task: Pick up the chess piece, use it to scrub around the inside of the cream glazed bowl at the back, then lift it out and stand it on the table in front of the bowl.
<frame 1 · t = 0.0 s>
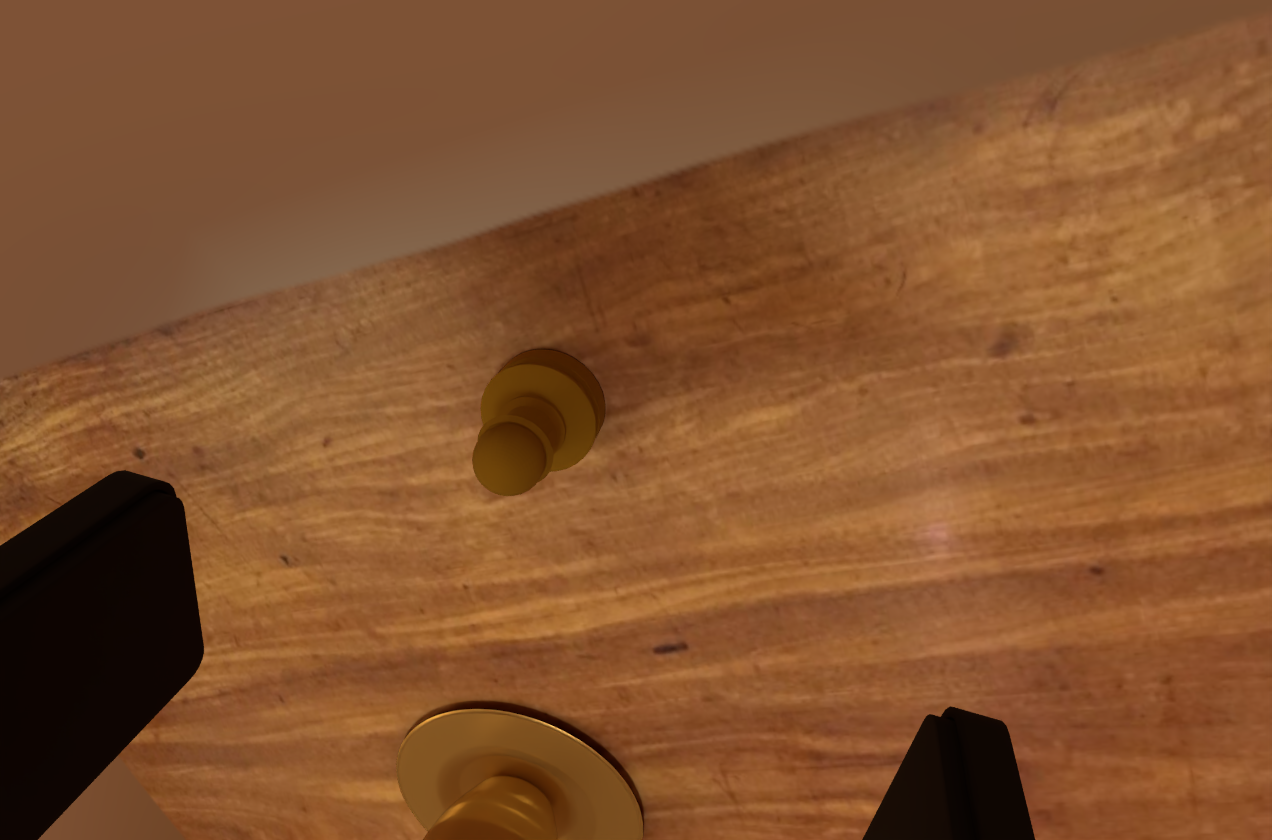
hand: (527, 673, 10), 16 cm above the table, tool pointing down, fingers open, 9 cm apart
cup: (521, 792, 37), on the table
chess piece: (551, 399, 27), on the table
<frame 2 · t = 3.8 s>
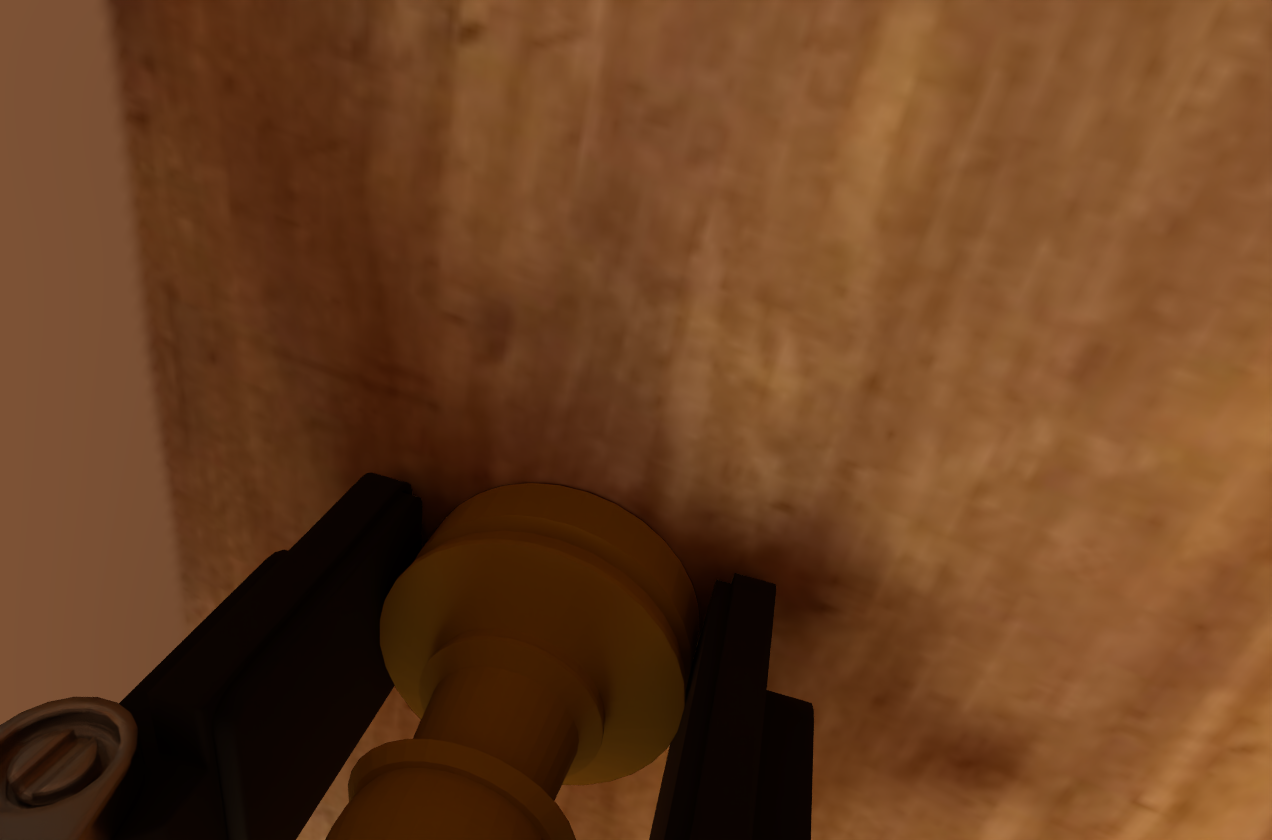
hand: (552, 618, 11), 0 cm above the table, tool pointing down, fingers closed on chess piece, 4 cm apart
chess piece: (563, 594, 11), on the table, touching gripper
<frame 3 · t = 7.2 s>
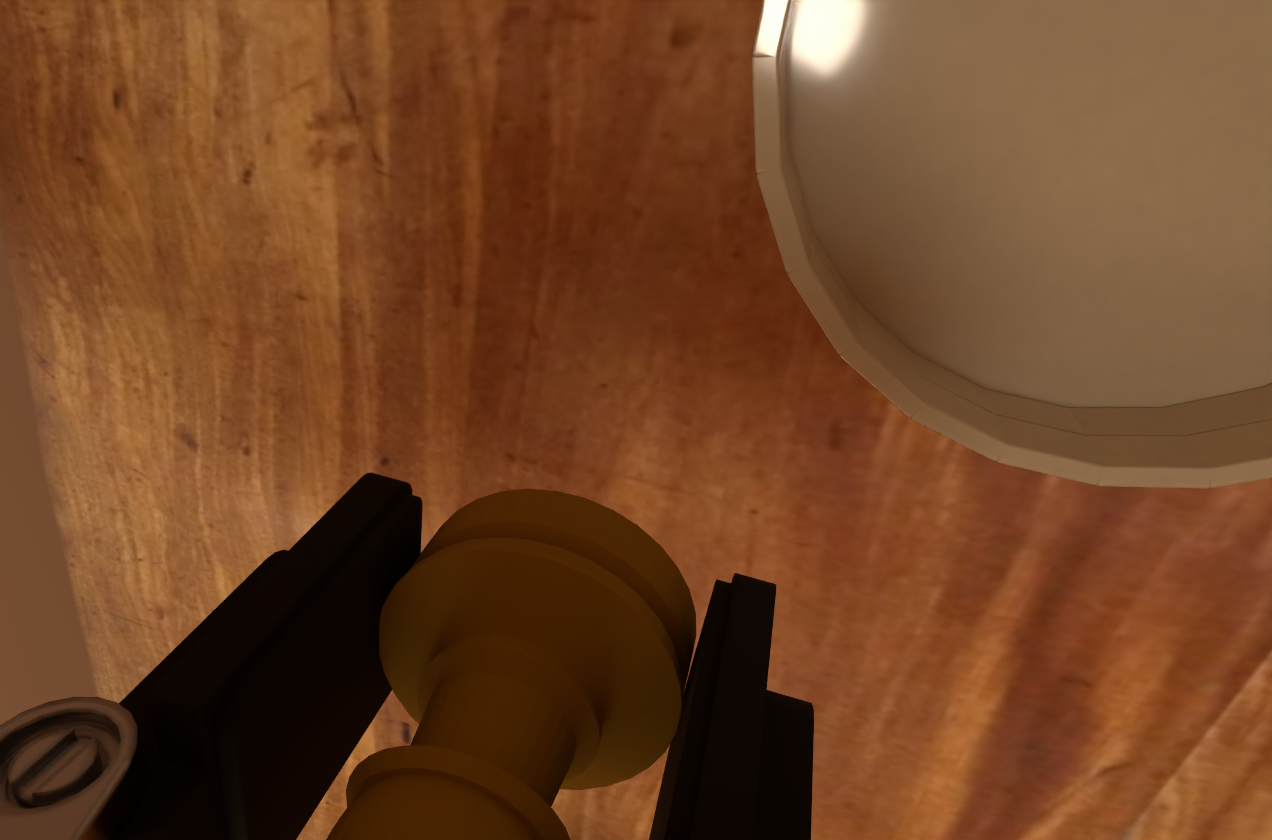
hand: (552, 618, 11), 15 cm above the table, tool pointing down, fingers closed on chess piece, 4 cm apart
chess piece: (560, 599, 11), point 15 cm above the table, touching gripper
bowl: (1167, 61, 19), on the table
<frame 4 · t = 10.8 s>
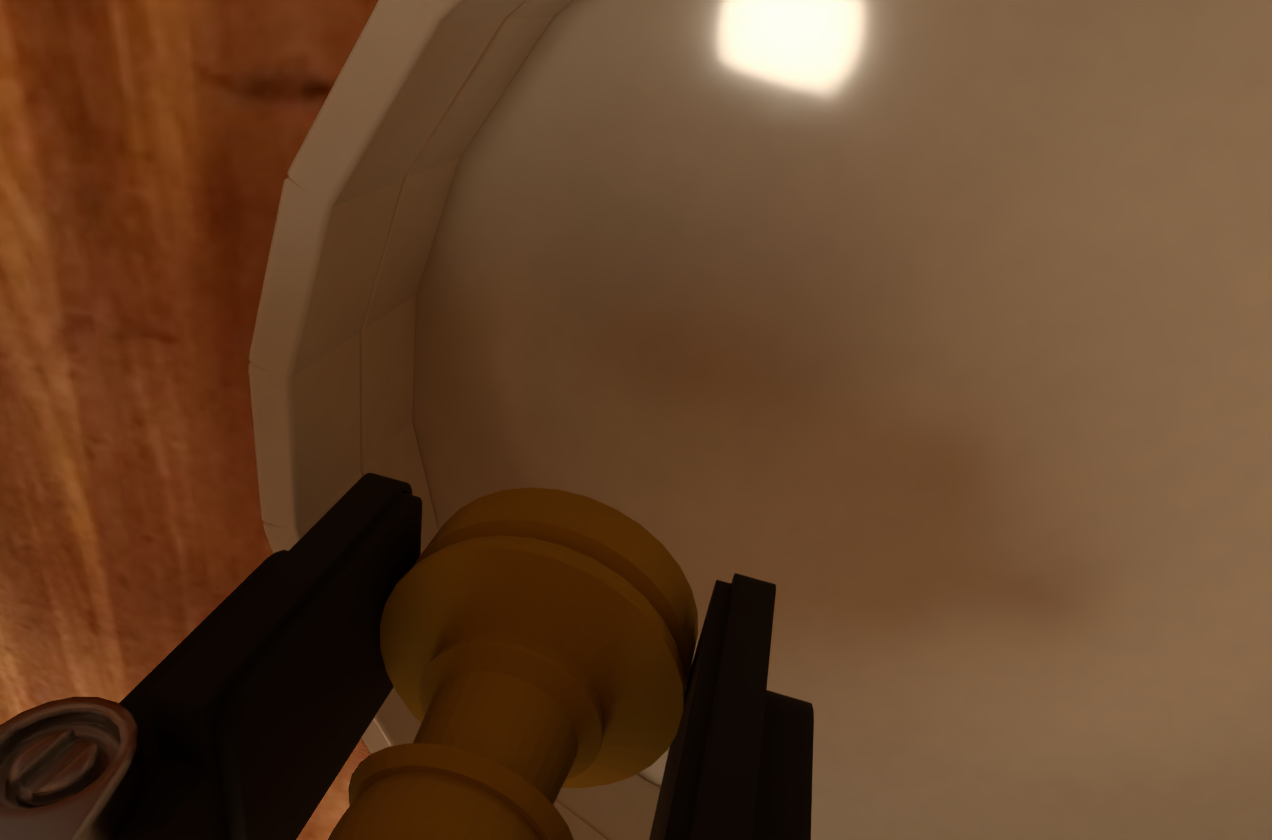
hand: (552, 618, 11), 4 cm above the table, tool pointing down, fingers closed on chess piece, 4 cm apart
chess piece: (562, 598, 11), point 3 cm above the table, touching gripper
bowl: (951, 484, 13), on the table
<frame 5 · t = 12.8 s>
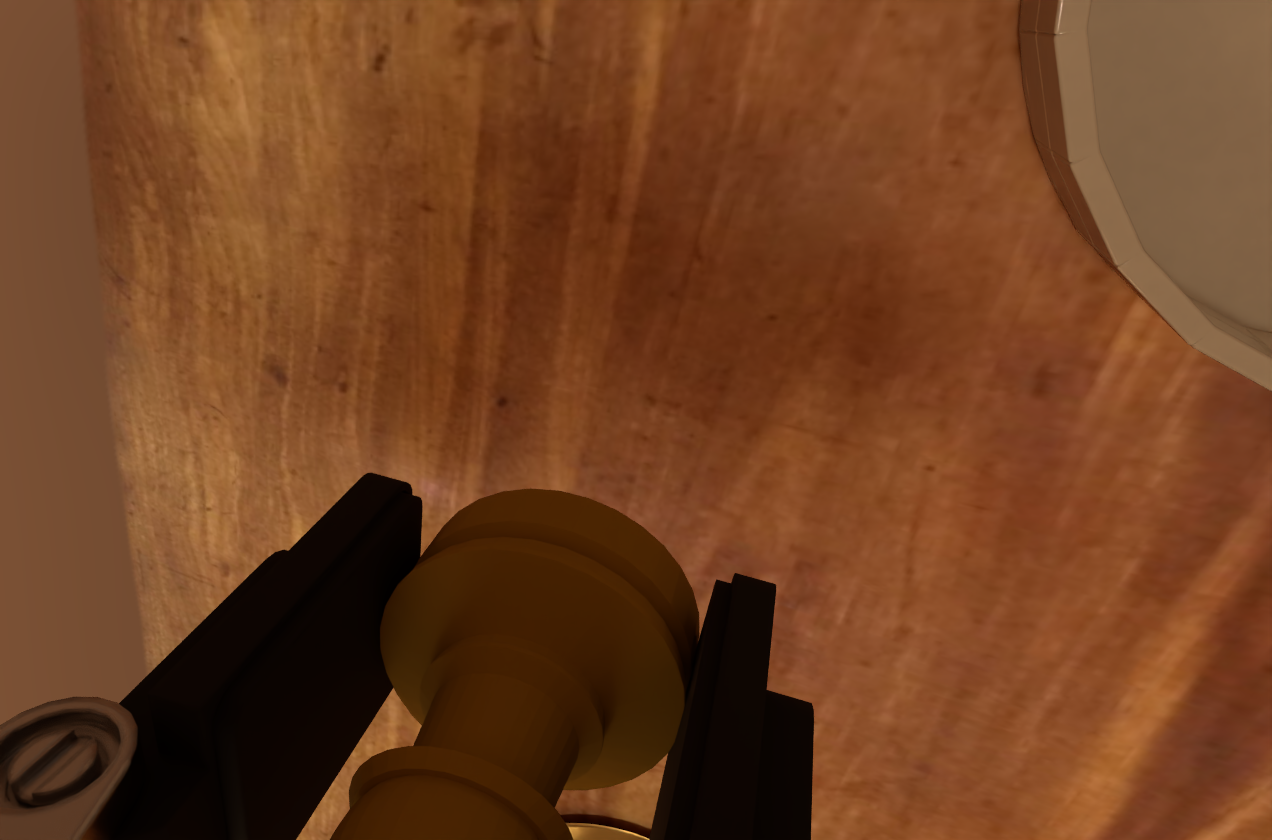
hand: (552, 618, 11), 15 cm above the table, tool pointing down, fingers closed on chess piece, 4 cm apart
chess piece: (563, 599, 11), point 14 cm above the table, touching gripper
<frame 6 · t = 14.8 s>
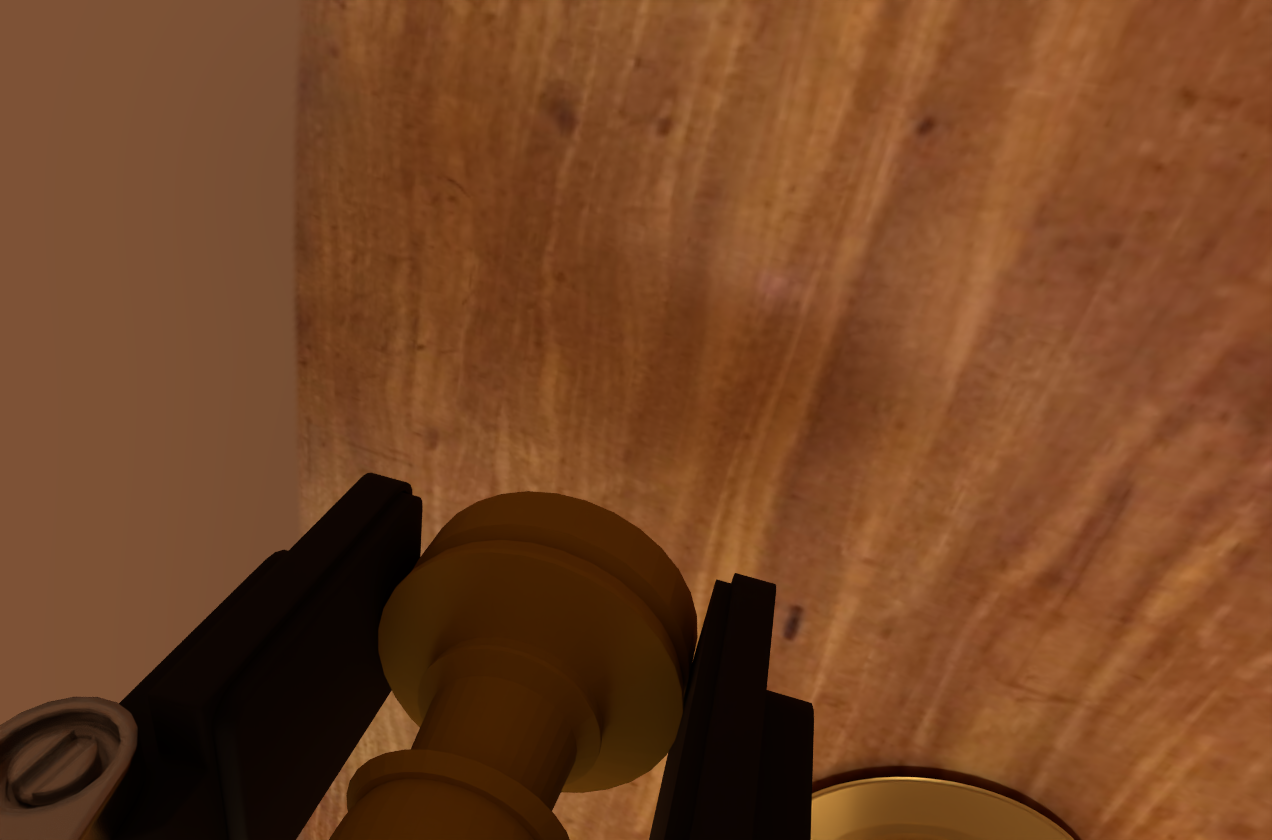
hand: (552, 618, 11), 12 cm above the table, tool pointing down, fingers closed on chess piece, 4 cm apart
chess piece: (561, 602, 11), point 12 cm above the table, touching gripper
when the fingers open (0 cm above the table, at t = 17.7 s): chess piece stays where it is, on the table.
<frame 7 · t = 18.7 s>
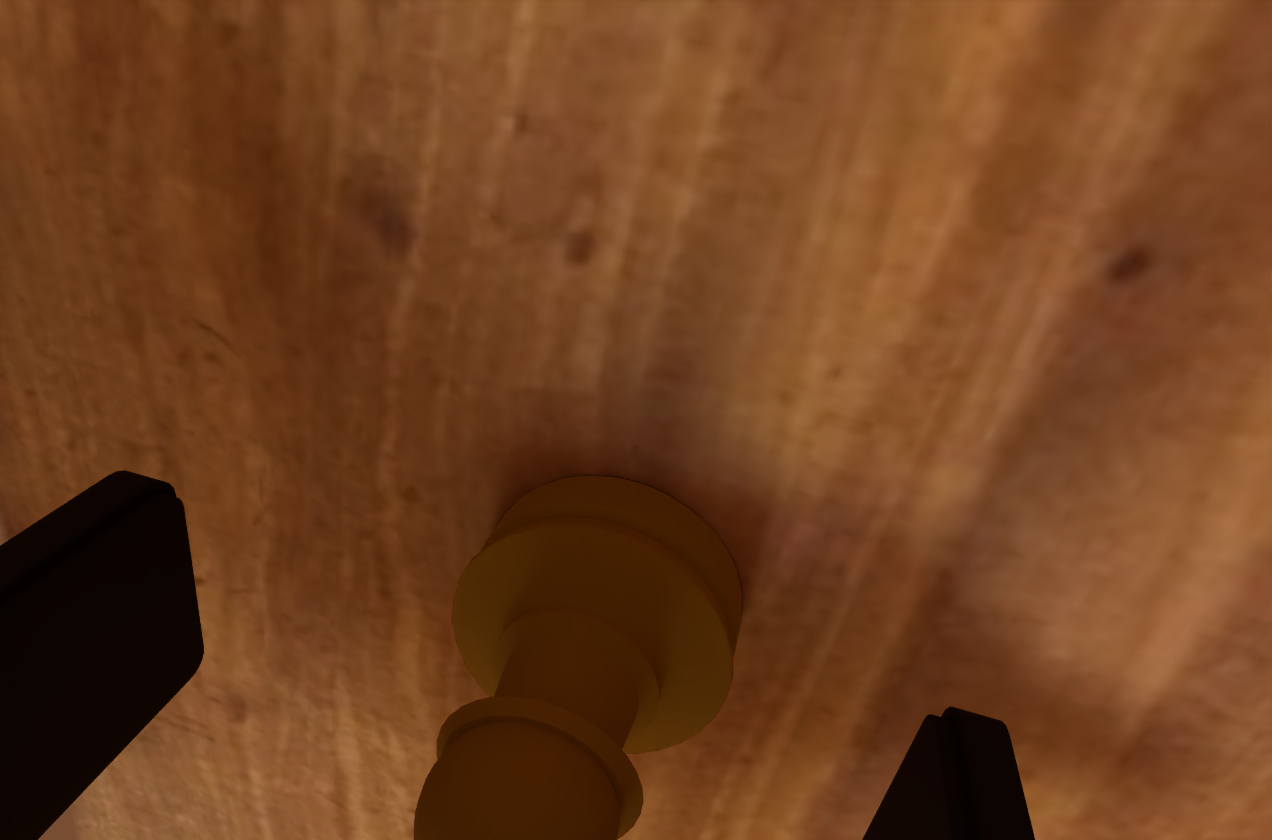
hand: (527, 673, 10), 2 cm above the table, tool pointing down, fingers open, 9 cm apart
chess piece: (615, 579, 12), on the table
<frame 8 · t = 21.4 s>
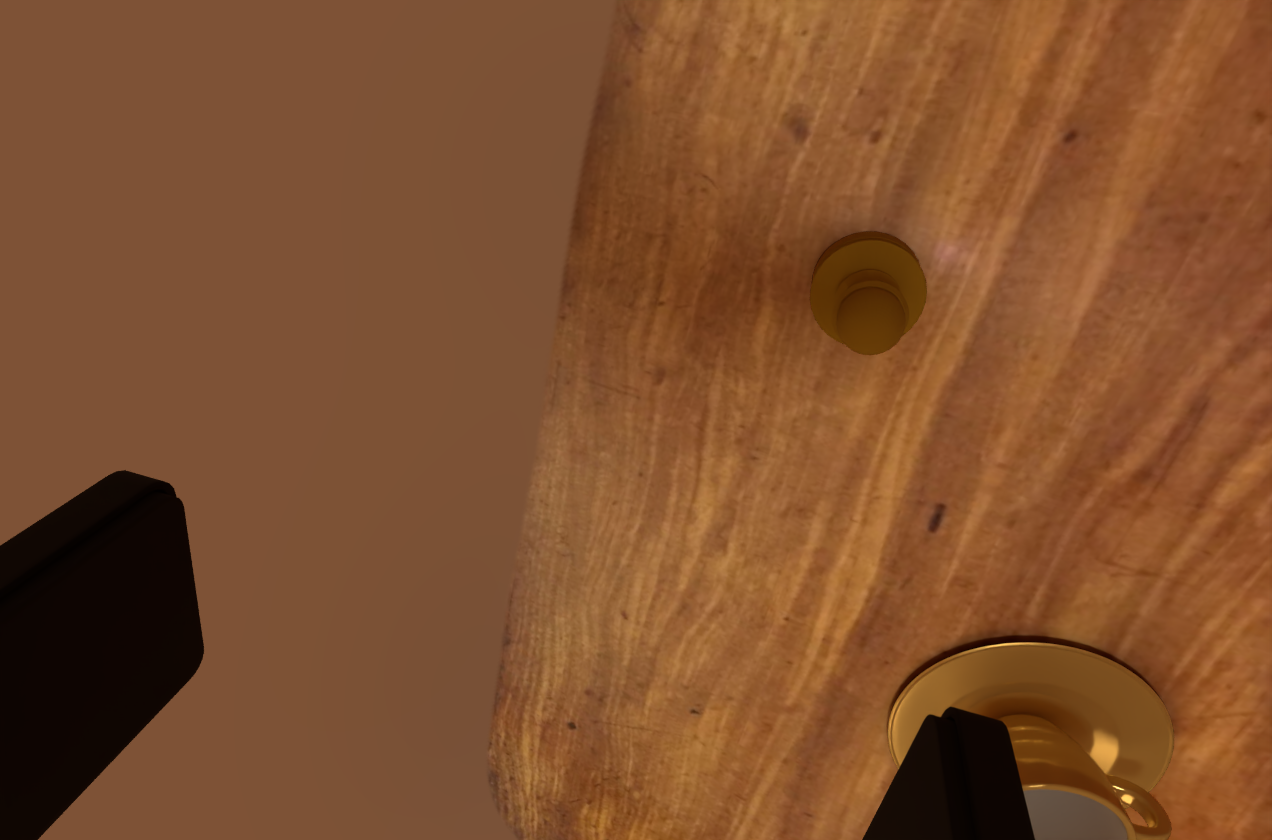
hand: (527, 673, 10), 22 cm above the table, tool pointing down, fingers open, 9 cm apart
cup: (1021, 731, 37), on the table
chess piece: (865, 282, 29), on the table
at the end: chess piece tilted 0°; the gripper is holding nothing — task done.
